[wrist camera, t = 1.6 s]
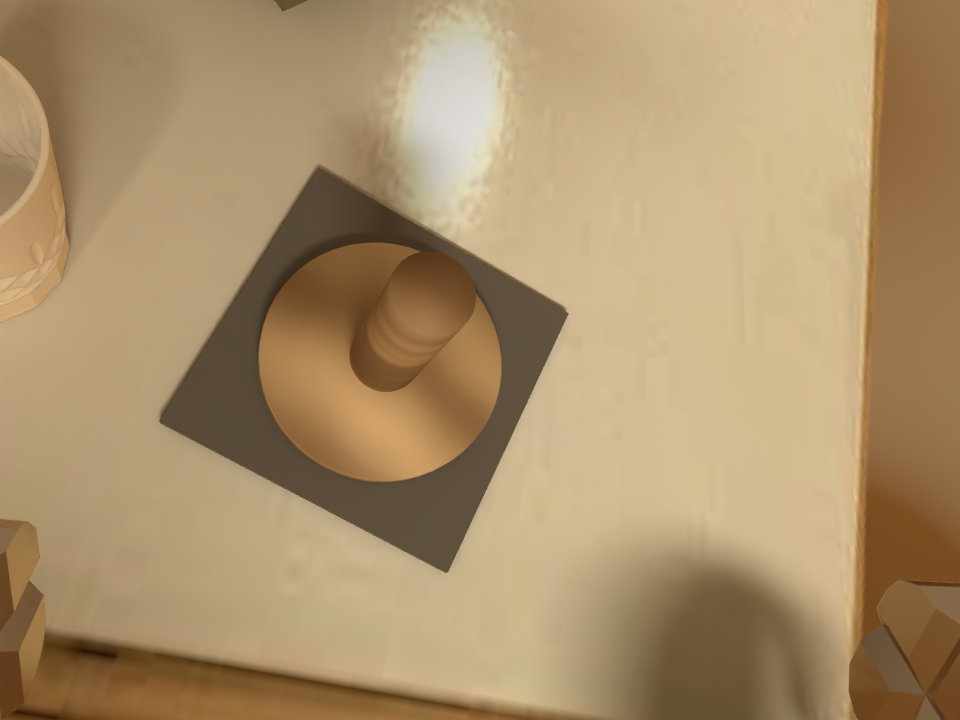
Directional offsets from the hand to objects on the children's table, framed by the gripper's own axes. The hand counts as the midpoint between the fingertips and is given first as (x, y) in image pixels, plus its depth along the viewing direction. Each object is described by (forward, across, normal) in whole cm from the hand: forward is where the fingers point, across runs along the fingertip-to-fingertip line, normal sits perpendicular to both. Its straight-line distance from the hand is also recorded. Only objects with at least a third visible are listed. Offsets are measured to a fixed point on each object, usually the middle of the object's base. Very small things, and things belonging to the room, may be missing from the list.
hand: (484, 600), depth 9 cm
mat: (+30, 0, +15) cm, 34 cm away
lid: (+30, 0, +15) cm, 33 cm away
